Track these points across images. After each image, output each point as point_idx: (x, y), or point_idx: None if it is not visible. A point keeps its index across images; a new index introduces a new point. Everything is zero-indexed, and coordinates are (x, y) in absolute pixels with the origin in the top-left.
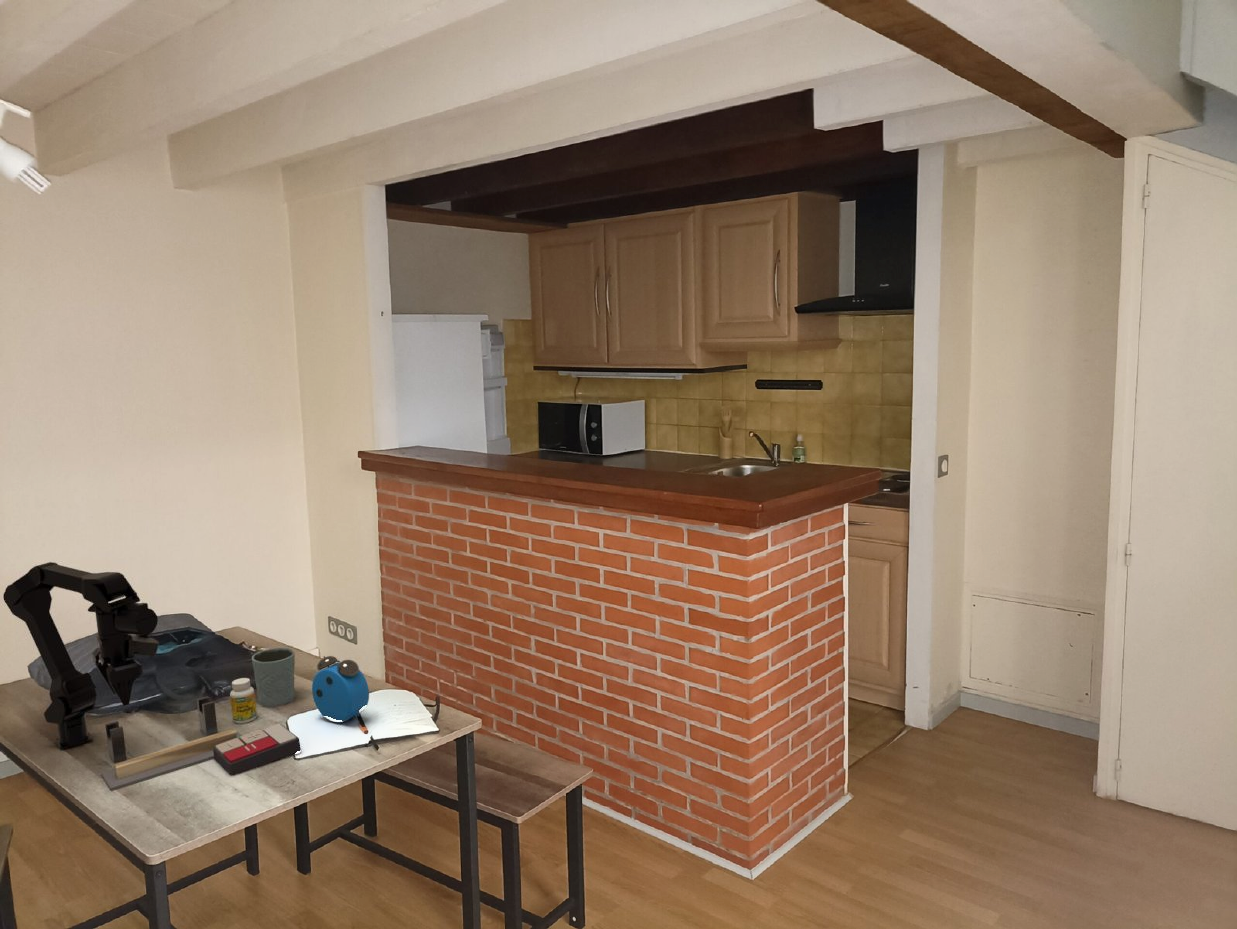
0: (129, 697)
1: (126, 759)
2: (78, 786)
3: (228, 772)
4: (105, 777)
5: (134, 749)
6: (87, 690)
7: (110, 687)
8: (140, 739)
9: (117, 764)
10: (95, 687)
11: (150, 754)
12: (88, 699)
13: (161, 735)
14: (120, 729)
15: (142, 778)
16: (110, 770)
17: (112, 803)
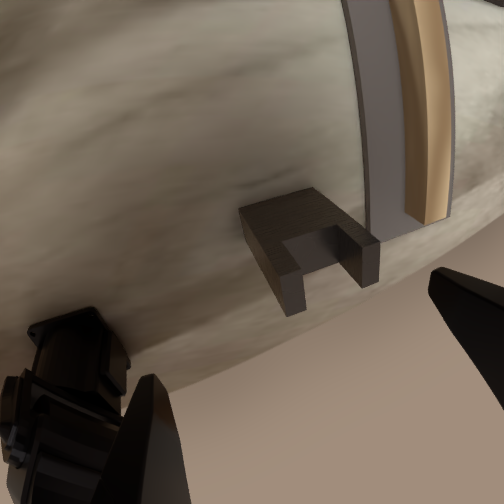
0: (485, 285)
1: (315, 189)
2: (382, 280)
3: (499, 5)
4: (401, 233)
5: (230, 168)
6: (89, 474)
7: (179, 448)
8: (138, 155)
9: (431, 217)
10: (46, 457)
11: (434, 131)
12: (85, 433)
13: (140, 78)
14: (378, 247)
15: (454, 153)
16: (372, 226)
17: (480, 208)
